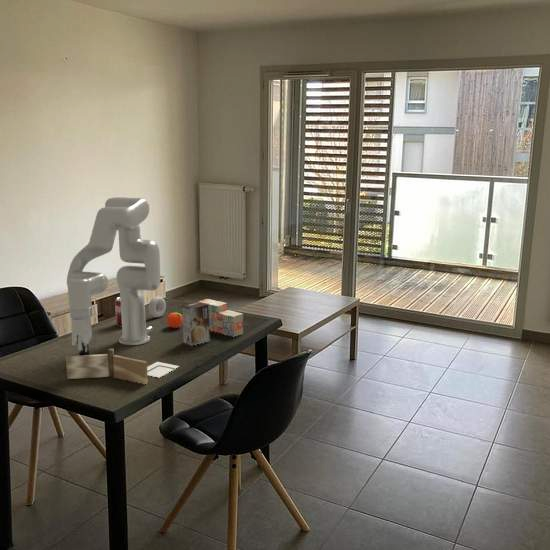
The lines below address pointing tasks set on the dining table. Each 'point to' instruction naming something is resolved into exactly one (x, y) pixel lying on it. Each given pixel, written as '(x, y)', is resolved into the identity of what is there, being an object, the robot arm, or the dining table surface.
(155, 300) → the donut
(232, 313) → the stack of blocks
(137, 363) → the wooden hinged panel
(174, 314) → the clementine
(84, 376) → the pale wooden plank
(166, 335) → the dining table surface
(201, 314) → the coffee box
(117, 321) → the soda can
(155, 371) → the card
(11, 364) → the dining table surface
